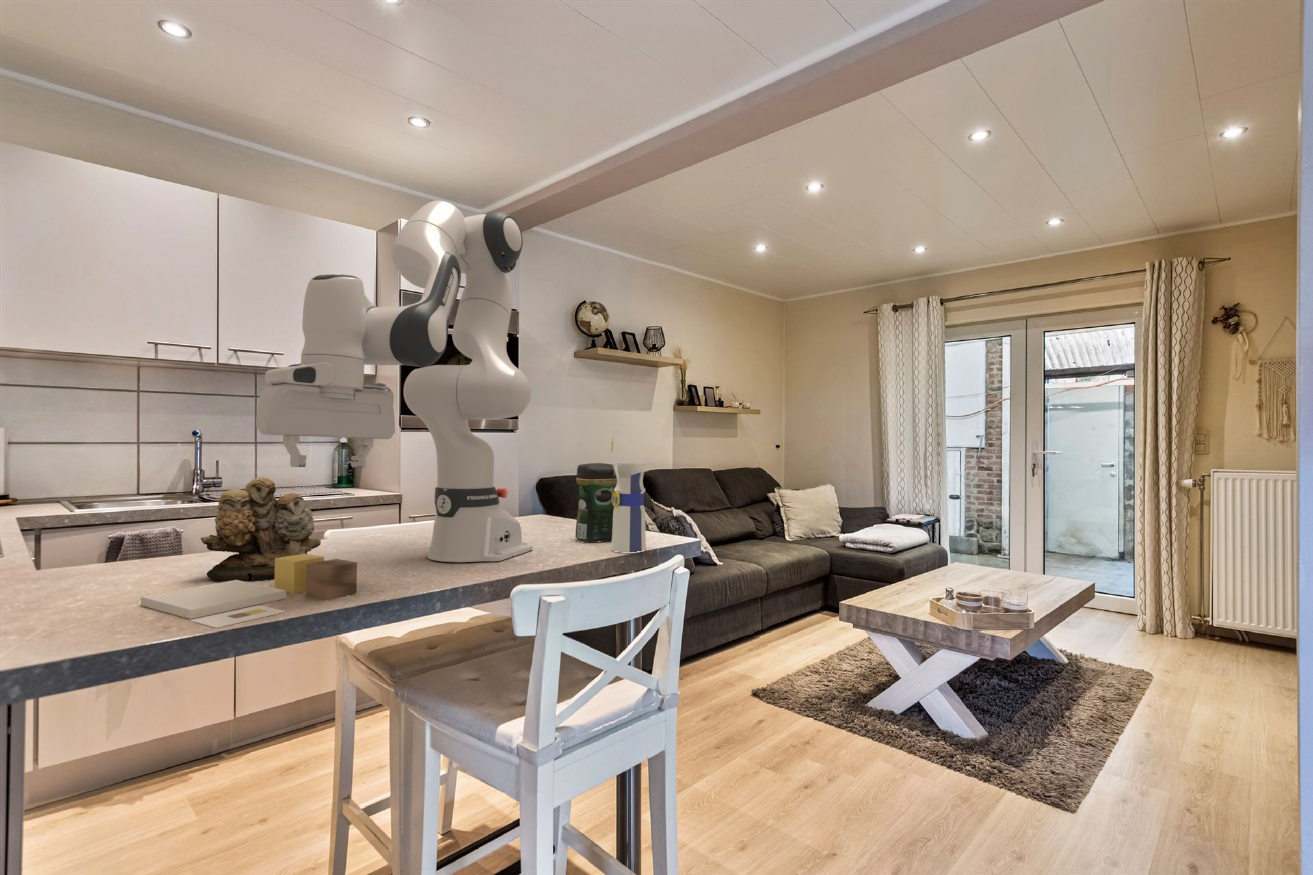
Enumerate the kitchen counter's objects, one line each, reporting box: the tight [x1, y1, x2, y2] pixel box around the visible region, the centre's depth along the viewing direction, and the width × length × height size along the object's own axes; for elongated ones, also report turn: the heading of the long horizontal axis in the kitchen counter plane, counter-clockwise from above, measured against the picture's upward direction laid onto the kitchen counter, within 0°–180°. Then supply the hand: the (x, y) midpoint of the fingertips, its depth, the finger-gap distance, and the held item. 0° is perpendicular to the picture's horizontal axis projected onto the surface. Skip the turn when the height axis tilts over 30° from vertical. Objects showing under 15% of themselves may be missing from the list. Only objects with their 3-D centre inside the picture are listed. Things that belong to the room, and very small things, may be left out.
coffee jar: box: [575, 462, 617, 543], centre depth 158 cm, size 10×8×19 cm
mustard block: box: [273, 553, 325, 594], centre depth 105 cm, size 5×5×5 cm
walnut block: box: [305, 558, 358, 601], centre depth 101 cm, size 5×5×5 cm
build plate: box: [140, 580, 287, 620], centre depth 96 cm, size 13×13×1 cm
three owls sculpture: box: [200, 476, 322, 583], centre depth 115 cm, size 18×12×17 cm, turn 133°
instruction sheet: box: [190, 604, 286, 629], centre depth 88 cm, size 9×6×1 cm, turn 152°
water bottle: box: [610, 437, 650, 552], centre depth 144 cm, size 8×9×25 cm
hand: (329, 467), depth 101 cm, fingers open, 8 cm apart
